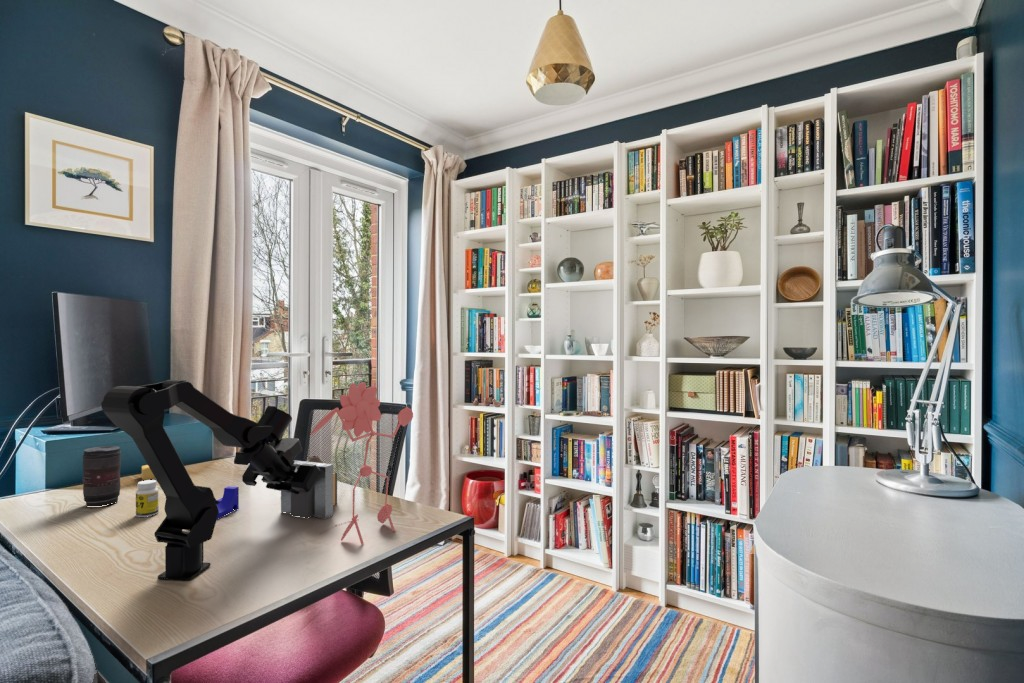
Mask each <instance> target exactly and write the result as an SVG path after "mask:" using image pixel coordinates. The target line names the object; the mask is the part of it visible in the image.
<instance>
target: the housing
mask: <svg viewBox="0 0 1024 683" xmlns="http://www.w3.org/2000/svg"><path fill="white" fill-rule="evenodd" d="M293 460H294V459H293ZM294 461H295V462H294V464H293V466H297V468H299V467H300V465H302V464H313V465H316V466H317V467H318V468H319V469H320V473H319V475H318V476H317V478H316V480H315V515H314V518H315V517H318V518H317V519H321V518H327V519H328V518H330V517H332V516H334V506H333V472H334V463H326V462H325V463H324V462H323V463H316V462H308V461H303V460H294ZM281 512H286V513H291V493H288V492H284V491H280V513H281ZM331 515H332V516H331ZM329 516H330V517H329Z"/></svg>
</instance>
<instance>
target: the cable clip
mask: <svg viewBox="0 0 1024 683" xmlns="http://www.w3.org/2000/svg"><path fill="white" fill-rule="evenodd" d="M239 490H240V489H239V486H226V487H224V488H223V496H222V497H221V498H219V499H216V500H217V501H219V504H216V505H217V506H218V509H219V514H218V516H217V520H219V519H221V518H223V517H222V516H224V515H226V514H228V513H230V512H232V511H234V510H236V511H238V510H239V508H240V505H239V501H240V500H239V498H240V495H239ZM233 509H234V510H233ZM237 509H238V510H237ZM234 512H235V511H234ZM232 513H233V512H232ZM230 514H231V513H230ZM228 515H229V514H228ZM226 516H227V515H226ZM220 517H221V518H220ZM224 517H225V516H224ZM218 518H219V519H218Z"/></svg>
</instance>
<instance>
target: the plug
mask: <svg viewBox="0 0 1024 683" xmlns="http://www.w3.org/2000/svg"><path fill="white" fill-rule="evenodd" d="M335 504H336V505H337V504H338V472H335V471H333V505H334V506H336V505H335ZM291 515H293V516H300V517H305V518H308V517H310V516H312V517H314V516H315V482H314V484H313V486H312V488H311V490H310V491H308V492H299V494H293V493H291V514H290V516H291ZM313 515H314V516H313ZM310 518H311V517H310ZM308 519H309V518H308Z"/></svg>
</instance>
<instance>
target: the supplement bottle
mask: <svg viewBox="0 0 1024 683" xmlns="http://www.w3.org/2000/svg"><path fill="white" fill-rule="evenodd" d="M157 484H158V482H157V480H156V479H152V480H144V481H143V480H141V481H138V482H137V484H136V485H137V486H136V487H137V490H136V491H135V516H136V517H137V518H140V517H144V518H148V517H147V516H150V517H153V516H156V515H157V513H159V508H160V507H159V505H160V504H159V502H160V501H159V500H160V499H159V488H158V485H157ZM155 514H156V515H155ZM152 515H153V516H152Z"/></svg>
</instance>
